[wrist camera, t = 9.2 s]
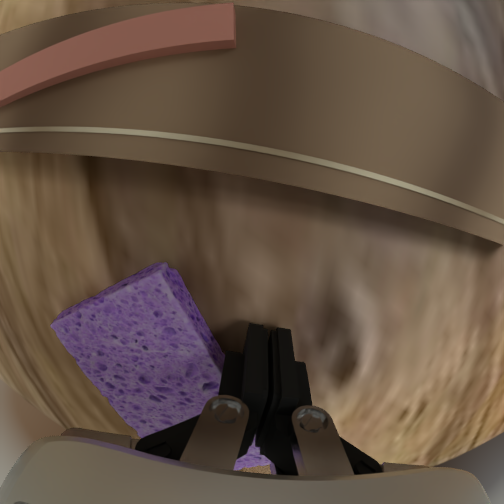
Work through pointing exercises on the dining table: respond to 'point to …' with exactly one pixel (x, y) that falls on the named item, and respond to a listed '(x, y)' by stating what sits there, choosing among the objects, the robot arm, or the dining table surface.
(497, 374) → the dining table surface
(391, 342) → the dining table surface
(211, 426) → the robot arm
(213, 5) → the carpenters pencil
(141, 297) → the sponges
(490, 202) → the walnut board
